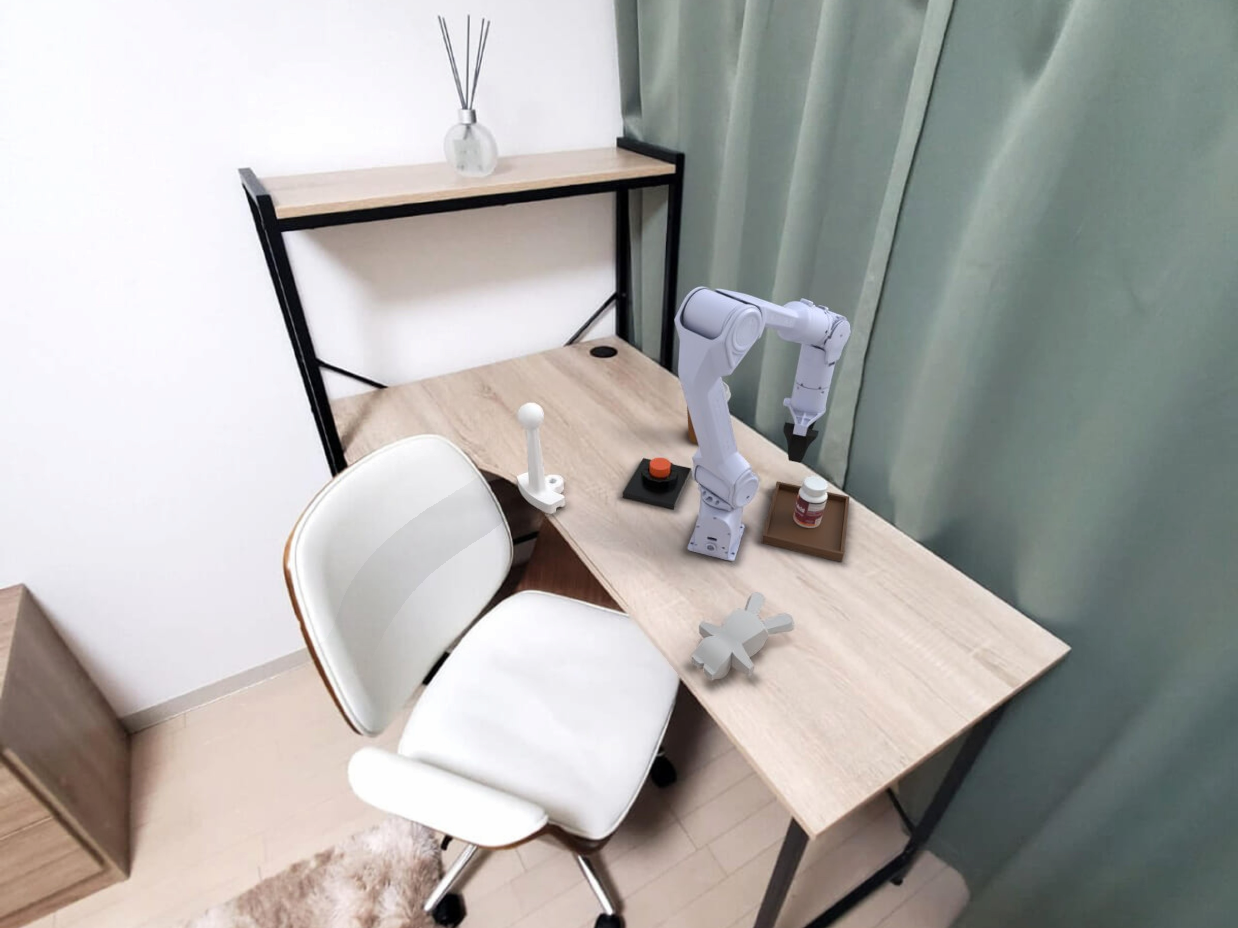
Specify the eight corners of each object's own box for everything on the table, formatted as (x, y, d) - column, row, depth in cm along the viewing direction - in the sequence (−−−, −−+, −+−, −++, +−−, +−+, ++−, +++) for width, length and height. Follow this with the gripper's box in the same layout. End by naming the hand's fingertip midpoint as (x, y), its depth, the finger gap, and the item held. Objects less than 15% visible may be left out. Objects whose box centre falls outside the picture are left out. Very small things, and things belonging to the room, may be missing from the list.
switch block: (673, 510, 110) (674, 497, 108) (622, 498, 113) (622, 485, 111) (690, 473, 119) (692, 461, 117) (643, 463, 122) (643, 451, 120)
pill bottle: (789, 512, 109) (797, 474, 104) (815, 511, 109) (824, 473, 104) (797, 529, 105) (806, 491, 100) (824, 528, 105) (834, 490, 100)
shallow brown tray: (841, 562, 99) (843, 554, 98) (761, 542, 103) (762, 535, 102) (847, 504, 112) (849, 496, 110) (775, 488, 115) (777, 481, 114)
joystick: (512, 488, 115) (501, 396, 104) (545, 473, 119) (537, 382, 108) (545, 517, 108) (537, 422, 97) (579, 500, 112) (575, 407, 101)
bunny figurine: (676, 635, 82) (751, 576, 89) (677, 656, 85) (749, 598, 92) (728, 683, 76) (804, 616, 83) (727, 703, 79) (800, 637, 86)
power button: (666, 479, 113) (667, 471, 112) (646, 475, 114) (646, 467, 113) (672, 468, 116) (673, 459, 115) (653, 463, 117) (653, 455, 116)
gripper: (795, 359, 106) (782, 425, 114) (780, 396, 96) (767, 465, 103) (836, 366, 104) (821, 432, 112) (826, 405, 93) (809, 475, 101)
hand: (798, 449), depth 108 cm, fingers open, 7 cm apart
